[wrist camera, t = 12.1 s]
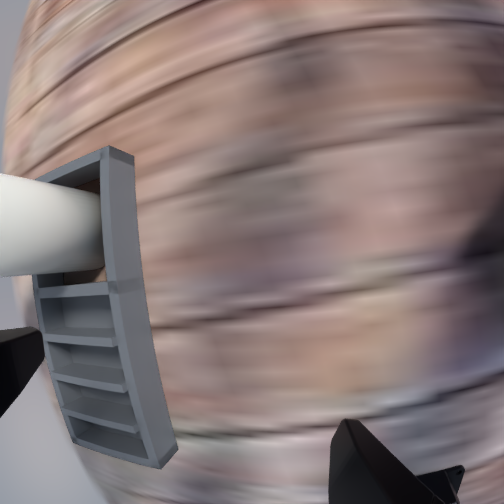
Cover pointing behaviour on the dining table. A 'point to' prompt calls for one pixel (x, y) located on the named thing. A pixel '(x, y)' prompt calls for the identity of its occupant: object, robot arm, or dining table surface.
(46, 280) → the dish rack
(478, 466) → the dining table surface
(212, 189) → the dining table surface
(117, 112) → the dining table surface
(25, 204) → the white smooth rounded part
